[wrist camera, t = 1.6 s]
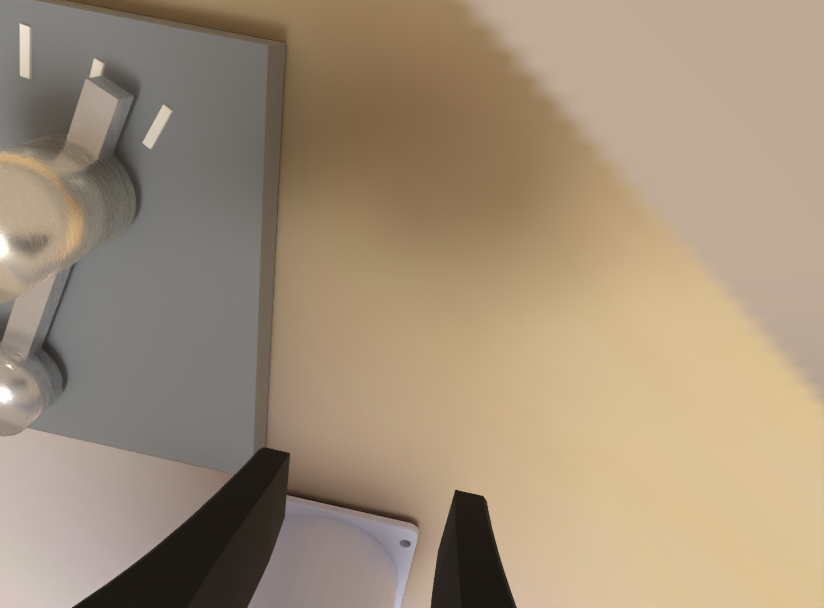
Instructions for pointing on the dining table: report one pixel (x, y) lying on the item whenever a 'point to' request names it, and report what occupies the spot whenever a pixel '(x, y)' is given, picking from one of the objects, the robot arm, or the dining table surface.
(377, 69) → the dining table surface
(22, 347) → the lever
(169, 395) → the dial board
